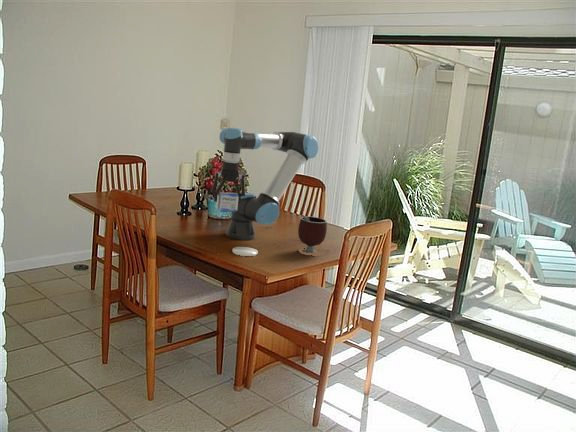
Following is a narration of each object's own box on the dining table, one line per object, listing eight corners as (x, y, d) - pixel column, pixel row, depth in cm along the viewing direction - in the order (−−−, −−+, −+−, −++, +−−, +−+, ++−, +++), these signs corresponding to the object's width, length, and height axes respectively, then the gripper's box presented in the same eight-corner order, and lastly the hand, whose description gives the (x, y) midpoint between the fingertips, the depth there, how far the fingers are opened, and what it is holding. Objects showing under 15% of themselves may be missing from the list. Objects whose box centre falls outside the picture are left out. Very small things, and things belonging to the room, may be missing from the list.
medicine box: (220, 212, 260) (221, 193, 258) (216, 209, 264) (218, 191, 262) (235, 212, 263) (237, 194, 262) (232, 209, 267) (234, 192, 265)
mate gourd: (309, 247, 288) (314, 209, 284) (328, 255, 278) (334, 216, 274) (287, 250, 278) (292, 211, 273) (307, 258, 268) (312, 218, 264)
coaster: (254, 249, 272) (255, 247, 271) (259, 257, 260) (260, 254, 260) (230, 248, 268) (230, 246, 268) (234, 256, 257) (234, 253, 257)
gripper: (209, 160, 252) (204, 209, 257) (255, 164, 258) (249, 212, 263) (207, 158, 259) (202, 205, 264) (252, 162, 265) (247, 208, 270)
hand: (226, 209), depth 263 cm, fingers closed on medicine box, 8 cm apart
